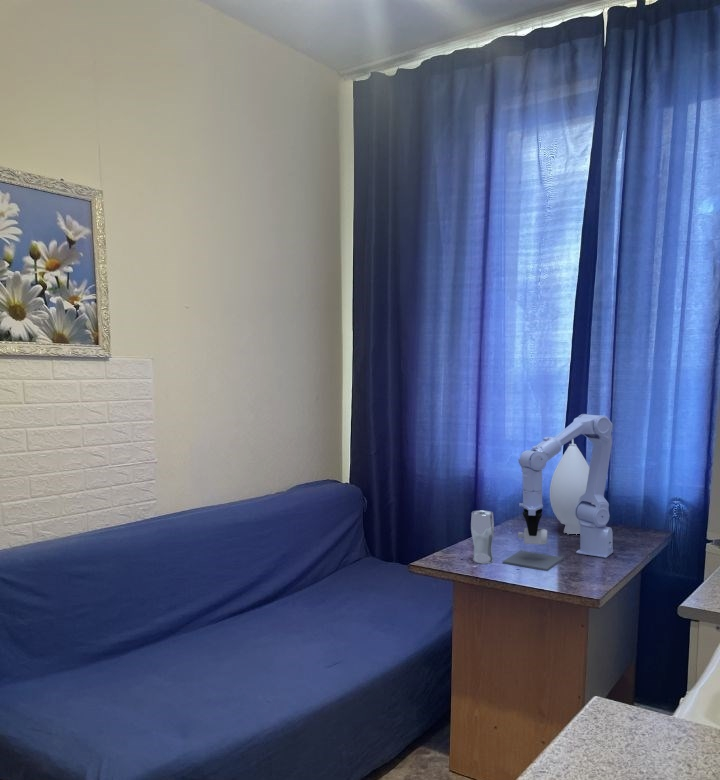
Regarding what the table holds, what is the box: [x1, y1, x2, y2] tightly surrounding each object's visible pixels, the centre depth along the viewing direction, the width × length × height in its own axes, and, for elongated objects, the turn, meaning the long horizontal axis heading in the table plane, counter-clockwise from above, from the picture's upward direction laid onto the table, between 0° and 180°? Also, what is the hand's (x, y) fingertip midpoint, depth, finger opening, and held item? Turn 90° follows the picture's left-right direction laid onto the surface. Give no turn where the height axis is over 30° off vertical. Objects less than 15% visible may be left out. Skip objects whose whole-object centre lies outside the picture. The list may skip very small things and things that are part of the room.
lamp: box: [549, 438, 595, 536], centre depth 230 cm, size 16×16×35 cm
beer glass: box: [470, 509, 495, 565], centre depth 198 cm, size 7×7×15 cm
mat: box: [501, 550, 565, 572], centre depth 197 cm, size 14×14×1 cm
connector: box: [517, 527, 548, 546], centre depth 197 cm, size 8×4×4 cm, turn 73°
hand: (533, 534), depth 197 cm, fingers closed on connector, 3 cm apart
